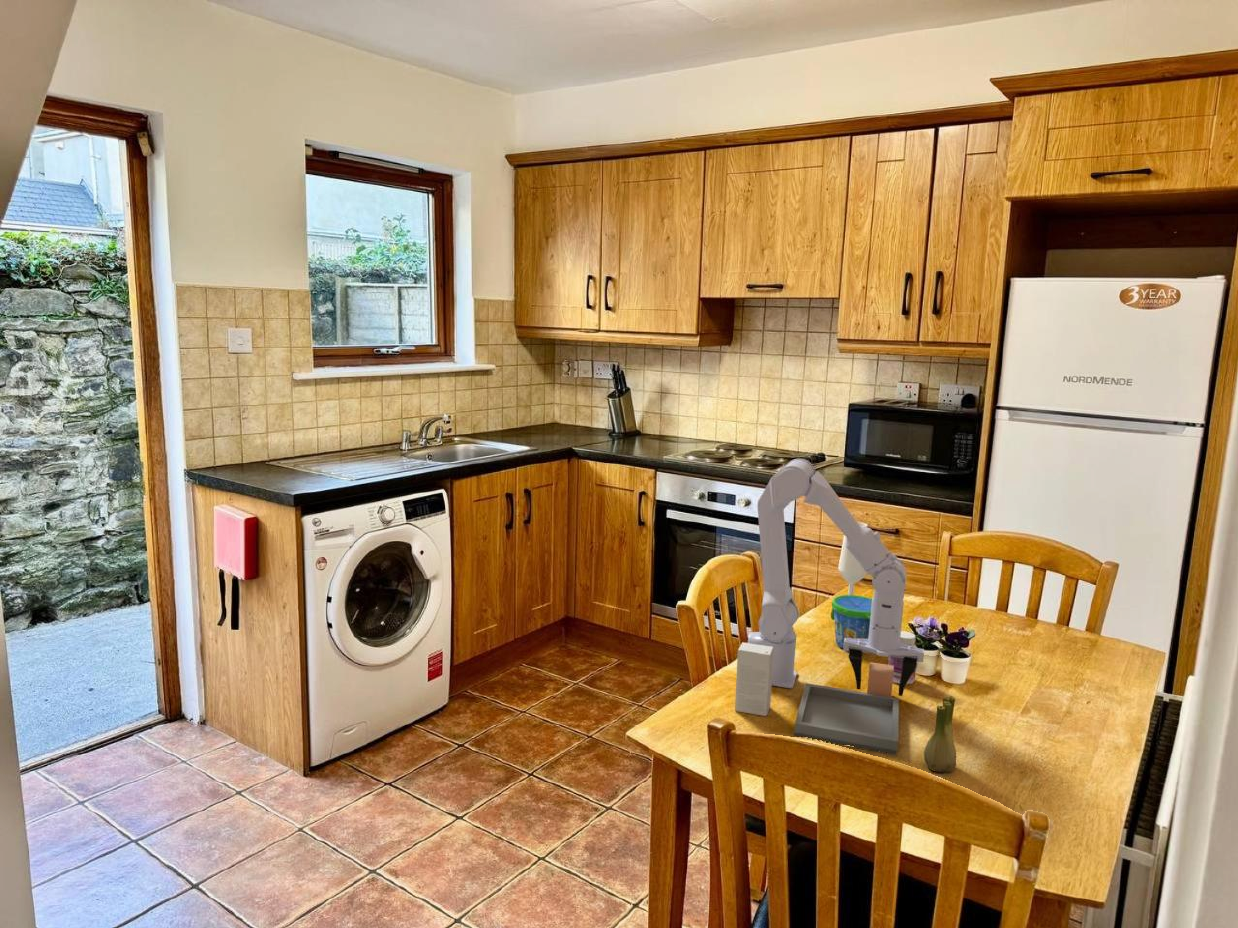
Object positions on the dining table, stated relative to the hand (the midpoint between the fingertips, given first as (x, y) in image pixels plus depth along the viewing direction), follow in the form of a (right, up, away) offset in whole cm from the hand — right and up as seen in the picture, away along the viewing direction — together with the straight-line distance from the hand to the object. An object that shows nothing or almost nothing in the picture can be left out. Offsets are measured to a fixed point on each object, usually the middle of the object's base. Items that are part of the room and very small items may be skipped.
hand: (879, 690), depth 164 cm
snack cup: (+2, +3, +25) cm, 25 cm away
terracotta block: (0, -1, 0) cm, 2 cm away
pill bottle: (+7, 0, +9) cm, 11 cm away
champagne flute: (+5, +6, +39) cm, 40 cm away
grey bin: (-9, -3, -10) cm, 14 cm away
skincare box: (-25, -2, -6) cm, 26 cm away
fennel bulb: (+2, -6, -24) cm, 25 cm away
